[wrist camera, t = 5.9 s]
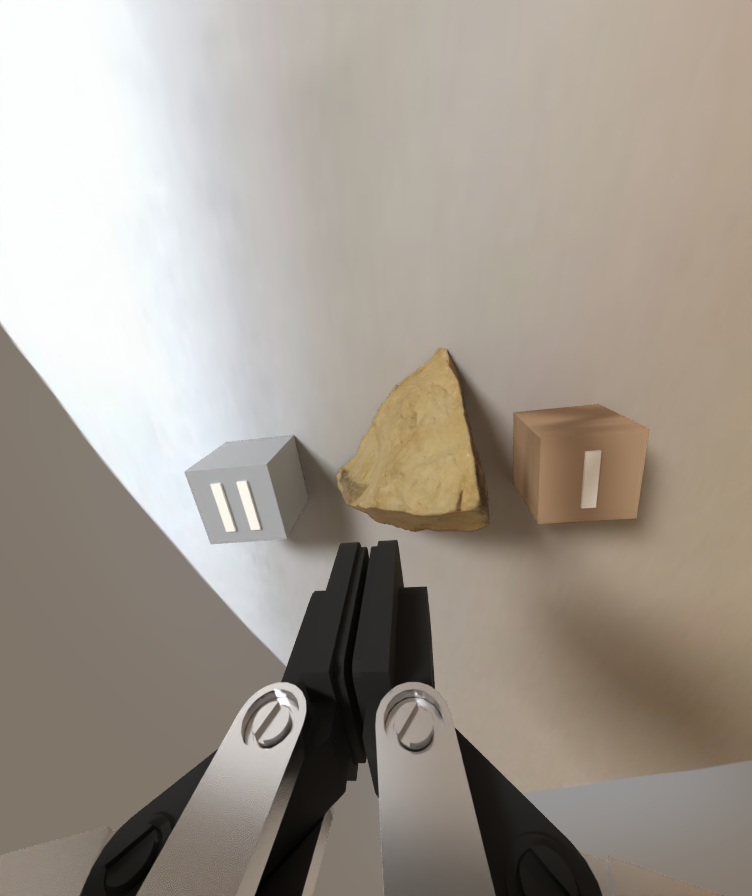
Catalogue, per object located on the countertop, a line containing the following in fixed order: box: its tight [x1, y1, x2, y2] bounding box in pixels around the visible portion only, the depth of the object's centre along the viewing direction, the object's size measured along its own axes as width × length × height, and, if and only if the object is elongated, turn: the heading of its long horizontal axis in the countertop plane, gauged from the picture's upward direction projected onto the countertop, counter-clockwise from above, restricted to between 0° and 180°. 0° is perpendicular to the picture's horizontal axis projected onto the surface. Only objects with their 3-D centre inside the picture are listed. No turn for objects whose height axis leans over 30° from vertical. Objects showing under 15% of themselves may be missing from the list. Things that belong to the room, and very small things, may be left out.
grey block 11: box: [185, 435, 309, 544], centre depth 23 cm, size 5×5×5 cm
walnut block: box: [513, 404, 650, 524], centre depth 20 cm, size 5×5×5 cm
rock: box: [336, 348, 490, 532], centre depth 20 cm, size 11×9×10 cm
